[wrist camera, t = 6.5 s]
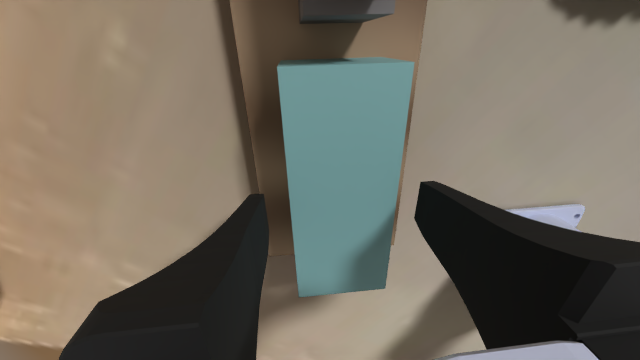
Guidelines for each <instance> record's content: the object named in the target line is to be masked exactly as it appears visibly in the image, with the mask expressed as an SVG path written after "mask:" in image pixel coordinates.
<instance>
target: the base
mask: <svg viewBox="0 0 640 360" xmlns="http://www.w3.org/2000/svg"><path fill="white" fill-rule="evenodd" d="M229 1H230V8H231V14H232V20H233V27H234V33H235V40H236V46H237V53H238V59H239V65H240V72H241V78H242V85H243V91H244V97H245V104H246V110H247V117H248V123H249V130H250V136H251V142H252V149H253V155H254V162H255V168H256V174H257V181H258V187H259V194H264V198H265V205H266V212H267V218H268V225H269V249H268V251H269V256H279V255H290V254H295V251H294V241H293V230H292V220H291V209H290V199H289V188H288V177H287V167H286V156H285V146H284V135H283V125H282V114H281V103H280V93H279V82H278V72H277V66H278V64H279V63H280V61H281V60H307V59H336V58H365V57H385V58H392V59H398V60H405V61H412V62H415V63H414V70H413V78H412V86H411V93H410V101H409V109H408V116H407V124H406V132H405V140H404V147H403V155H402V163H401V170H400V178H399V186H398V193H397V201H396V209H395V216H394V224H393V232H392V239H391V245H394V240H395V232H396V225H397V218H398V211H399V203H400V196H401V189H402V181H403V174H404V167H405V159H406V152H407V145H408V138H409V130H410V123H411V116H412V108H413V101H414V94H415V86H416V79H417V72H418V65H419V57H420V50H421V43H422V35H423V28H424V21H425V14H426V6H427V0H229Z"/></svg>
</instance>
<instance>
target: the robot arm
mask: <svg viewBox="0 0 640 360" xmlns="http://www.w3.org/2000/svg"><path fill="white" fill-rule="evenodd" d="M584 211H585V207H584V206H583V205H581V204H571V205H559V206H546V207H534V208H522V209H510V210H503V209H500V208H498V207H495V206H492V205H490V204H487V203H485V202H483V201H480V200H478V199H476V198H473V197H471V196H469V195H466V194H464V193H462V192H460V191H457V190H455V189H453V188H451V187H448V186H446V185H443V184H441V183H438V182H435V181H427V182H421V183H420V189H419V194H418V200H417V206H416V211H415V217H414V218H415V221H416V223H417V225H418V227H419V229H420V231H421V233H422V235H423V237H424V239H425V240H426V242H427V243H428V245H429V246H430V248H431V249H432V251H433V252H434V254H435V255H436V257H437V258H438V260H439V261H440V263H441V264H442V265H443V267H444V268H445V270H446V271H447V273H448V274H449V276H450V278H451V279H452V281H453V282H454V284H455V286H456V288H457V290H458V291H459V293H460V295H461V297H462V299H463V301H464V303H465V305H466V307H467V309H468V311H469V313H470V315H471V317H472V319H473V321H474V323H475V325H476V327H477V329H478V331H479V334H480V336H481V338H482V340H483V342H484V345H485V347H486V349H487V350H480V351H472V352H465V353H457V354H452V355H448V356H445V357H441V358H437V359H434V360H640V242H635V241H628V240H622V239H615V238H609V237H604V236H599V235H594V234H589V233H584V232H581V231H579V230H578V229H576V226H577V224H578V222H579V221H580V219H581V217H582V215H583V213H584ZM268 249H269V225H268V218H267V212H266V205H265V198H264V194H252V195H249V196H248V197H247V198H246V199H245V201H244V202H243V203H242V204H241V205H240V206H239V207H238V209H237V210H236V211H235V212H234V213H233V214H232V215H231V216H230V217H229V218H228V219H227V221H226V222H224V223H223V224H222V225H221V226H220V227H219V228H218V229H217V230H216V231H215V232H214V233H213V234H212V235H211V236H209V237H208V238H207V239H206V240H205V241H203V242H202V243H201V244H200V245H198V246H197V247H196V248H194V249H193V250H192V251H190V252H189V253H187V254H186V255H184V256H183V257H181V258H180V259H178V260H177V261H175V262H174V263H172V264H171V265H169V266H168V267H166V268H164V269H162V270H161V271H159V272H157V273H156V274H154V275H152V276H150V277H148V278H147V279H145V280H143V281H141V282H139V283H137V284H135V285H133V286H131V287H129V288H127V289H125V290H123V291H121V292H119V293H117V294H115V295H113V296H110V297H108V298H106V299H104V300H102V301H100V302H98V303H97V305H96V306H95V307H94V309H93V310H92V311H91V313H90V314H89V315H88V317H87V318H86V319H85V321H84V322H83V323H82V325H81V326H80V327H79V329H78V330H77V332H76V333H75V334H74V336H73V337H72V338H71V340H70V341H69V342H68V344H67V345H66V346H65V348H64V349H63V351H62V353H61V355H60V357H59V360H256V350H257V333H258V318H259V304H260V297H261V290H262V285H263V279H264V273H265V268H266V262H267V256H268Z"/></svg>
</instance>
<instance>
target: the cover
mask: <svg viewBox="0 0 640 360" xmlns="http://www.w3.org/2000/svg"><path fill="white" fill-rule="evenodd" d="M414 63H415V62H412V61H405V60H398V59H392V58H385V57H365V58H336V59H307V60H281V61H280V63H279V64H278V66H277V72H278V82H279V93H280V103H281V114H282V125H283V135H284V146H285V156H286V167H287V177H288V188H289V199H290V209H291V220H292V230H293V241H294V251H295V262H296V273H297V283H298V294H299V297H308V296H317V295H327V294H337V293H346V292H356V291H366V290H375V289H385V286H386V278H387V270H388V263H389V255H390V247H391V239H392V232H393V224H394V216H395V209H396V201H397V193H398V186H399V178H400V170H401V163H402V155H403V147H404V140H405V132H406V124H407V116H408V109H409V101H410V93H411V86H412V78H413V70H414Z"/></svg>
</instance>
